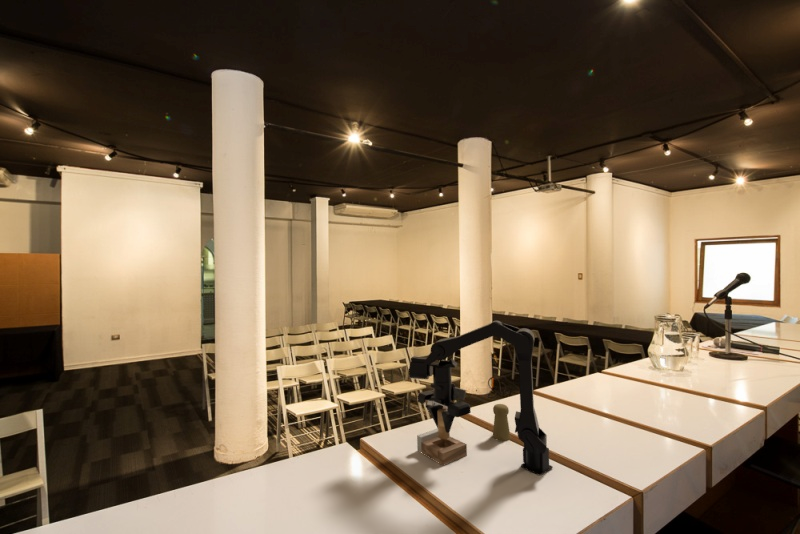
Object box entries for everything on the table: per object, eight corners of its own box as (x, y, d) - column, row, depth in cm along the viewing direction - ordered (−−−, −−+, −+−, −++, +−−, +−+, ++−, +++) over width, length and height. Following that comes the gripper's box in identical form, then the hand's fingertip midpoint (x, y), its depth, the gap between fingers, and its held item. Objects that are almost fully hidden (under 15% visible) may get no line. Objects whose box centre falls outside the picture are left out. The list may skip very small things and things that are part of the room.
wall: (442, 445, 129) (442, 430, 129) (421, 453, 124) (421, 437, 124) (438, 443, 131) (438, 428, 131) (417, 451, 125) (417, 435, 125)
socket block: (466, 455, 122) (466, 444, 122) (442, 465, 116) (442, 453, 116) (444, 444, 130) (444, 433, 130) (421, 453, 124) (421, 442, 124)
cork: (506, 442, 130) (505, 409, 130) (489, 438, 134) (488, 405, 134) (513, 436, 135) (512, 404, 135) (496, 432, 139) (496, 401, 139)
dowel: (452, 437, 122) (451, 411, 122) (443, 440, 120) (442, 414, 120) (444, 433, 125) (443, 408, 125) (435, 436, 123) (435, 410, 123)
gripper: (482, 381, 120) (483, 432, 120) (441, 370, 135) (442, 415, 135) (456, 388, 114) (457, 443, 113) (416, 376, 129) (417, 423, 128)
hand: (443, 430), depth 123 cm, fingers closed on dowel, 4 cm apart
